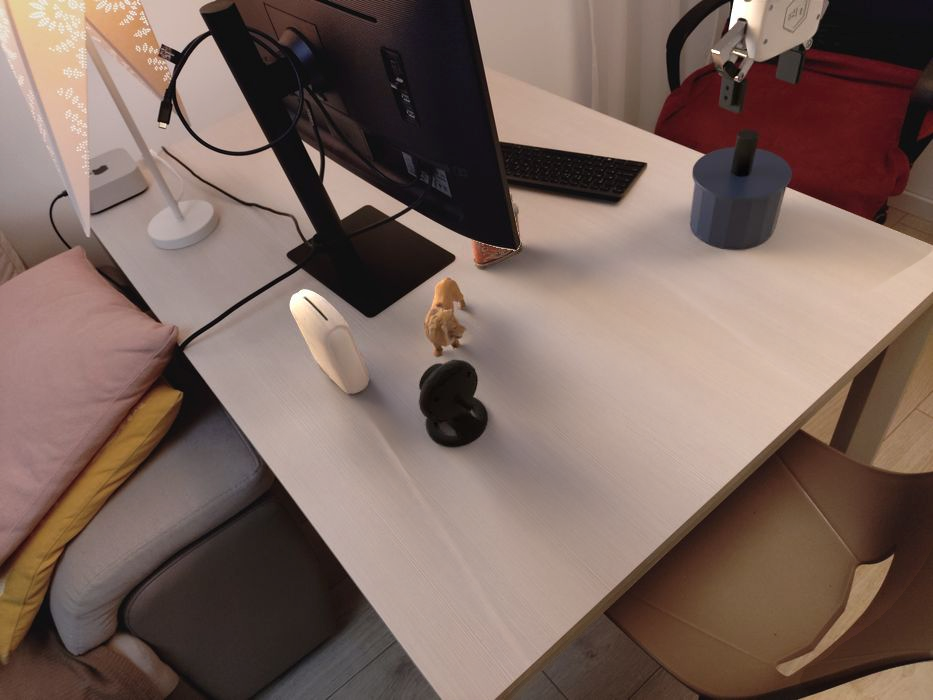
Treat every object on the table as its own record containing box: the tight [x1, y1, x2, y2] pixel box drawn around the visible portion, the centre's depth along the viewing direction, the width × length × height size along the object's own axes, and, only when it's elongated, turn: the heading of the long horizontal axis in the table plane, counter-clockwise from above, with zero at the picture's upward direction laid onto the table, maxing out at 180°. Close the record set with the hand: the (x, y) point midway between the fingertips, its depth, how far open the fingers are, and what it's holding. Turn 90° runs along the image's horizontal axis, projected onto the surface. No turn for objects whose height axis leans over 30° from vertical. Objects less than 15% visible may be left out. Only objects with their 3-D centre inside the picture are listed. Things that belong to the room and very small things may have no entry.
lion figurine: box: [423, 277, 467, 357], centre depth 83 cm, size 15×5×9 cm, turn 4°
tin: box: [689, 182, 787, 250], centre depth 89 cm, size 12×12×8 cm
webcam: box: [418, 359, 489, 448], centre depth 72 cm, size 8×8×10 cm
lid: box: [691, 129, 793, 201], centre depth 84 cm, size 13×13×7 cm
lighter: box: [471, 193, 523, 271], centre depth 92 cm, size 8×3×10 cm, turn 119°
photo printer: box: [289, 289, 371, 395], centre depth 80 cm, size 10×4×12 cm, turn 39°
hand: (759, 94), depth 78 cm, fingers open, 9 cm apart
